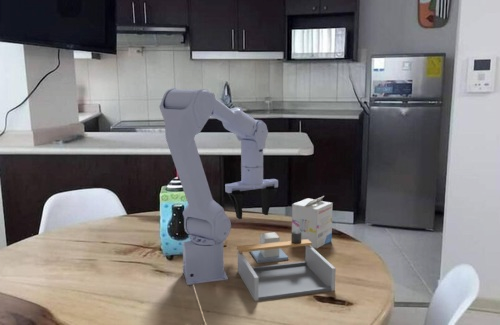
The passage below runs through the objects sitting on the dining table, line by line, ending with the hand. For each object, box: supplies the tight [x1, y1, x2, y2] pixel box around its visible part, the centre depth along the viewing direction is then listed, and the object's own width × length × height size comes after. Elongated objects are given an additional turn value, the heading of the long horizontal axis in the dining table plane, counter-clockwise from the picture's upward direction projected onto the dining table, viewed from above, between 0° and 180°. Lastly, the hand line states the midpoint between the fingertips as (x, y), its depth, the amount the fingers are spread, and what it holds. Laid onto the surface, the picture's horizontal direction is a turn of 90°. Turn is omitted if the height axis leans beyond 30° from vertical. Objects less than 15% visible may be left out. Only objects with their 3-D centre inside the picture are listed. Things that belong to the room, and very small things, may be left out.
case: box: [237, 245, 337, 302], centre depth 100 cm, size 18×15×6 cm
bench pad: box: [249, 248, 289, 264], centre depth 115 cm, size 8×8×1 cm
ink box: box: [291, 195, 334, 249], centre depth 125 cm, size 9×8×13 cm
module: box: [259, 231, 281, 258], centre depth 114 cm, size 4×4×5 cm
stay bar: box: [236, 231, 312, 253], centre depth 106 cm, size 18×2×3 cm, turn 105°
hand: (252, 216), depth 118 cm, fingers open, 7 cm apart
